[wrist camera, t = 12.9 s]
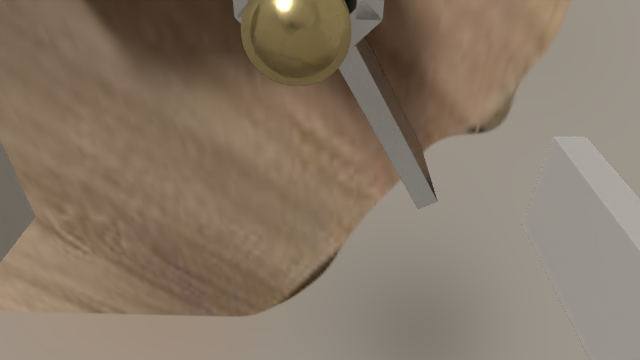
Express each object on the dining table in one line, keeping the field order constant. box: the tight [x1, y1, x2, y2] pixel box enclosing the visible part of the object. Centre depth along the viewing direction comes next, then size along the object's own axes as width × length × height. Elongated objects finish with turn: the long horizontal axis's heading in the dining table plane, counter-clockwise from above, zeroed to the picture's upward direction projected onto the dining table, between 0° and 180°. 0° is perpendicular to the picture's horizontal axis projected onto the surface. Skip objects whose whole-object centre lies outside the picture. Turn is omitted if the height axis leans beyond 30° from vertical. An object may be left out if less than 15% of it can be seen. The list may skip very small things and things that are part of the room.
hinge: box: [233, 0, 437, 209], centre depth 33 cm, size 28×21×8 cm
